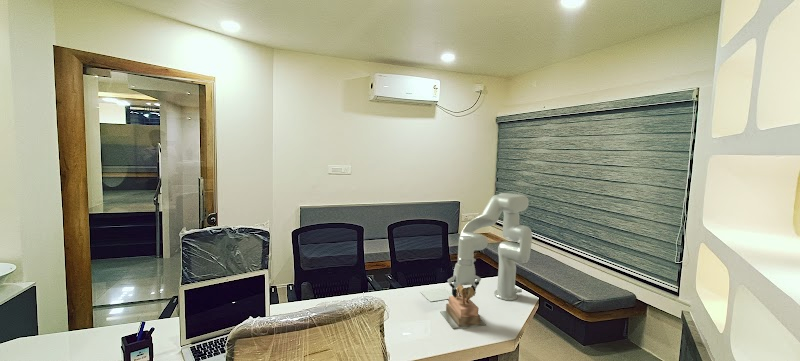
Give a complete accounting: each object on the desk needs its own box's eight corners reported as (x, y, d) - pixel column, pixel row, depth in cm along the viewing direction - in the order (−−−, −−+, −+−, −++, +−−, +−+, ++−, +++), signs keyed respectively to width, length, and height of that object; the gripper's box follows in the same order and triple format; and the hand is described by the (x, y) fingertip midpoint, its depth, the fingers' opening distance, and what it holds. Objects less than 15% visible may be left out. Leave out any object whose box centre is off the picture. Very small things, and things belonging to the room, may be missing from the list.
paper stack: (466, 306, 173) (466, 305, 173) (424, 313, 164) (424, 311, 164) (444, 288, 195) (444, 287, 195) (406, 294, 186) (406, 292, 186)
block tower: (470, 309, 169) (471, 293, 168) (486, 325, 154) (487, 308, 153) (440, 312, 165) (440, 296, 164) (453, 329, 149) (453, 311, 149)
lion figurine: (476, 306, 154) (477, 288, 154) (467, 308, 152) (468, 289, 151) (457, 293, 167) (458, 277, 167) (449, 295, 165) (450, 278, 164)
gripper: (477, 258, 163) (475, 291, 164) (445, 259, 158) (444, 293, 160) (485, 263, 155) (483, 297, 157) (452, 265, 151) (450, 300, 152)
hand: (463, 295), depth 158 cm, fingers open, 9 cm apart
